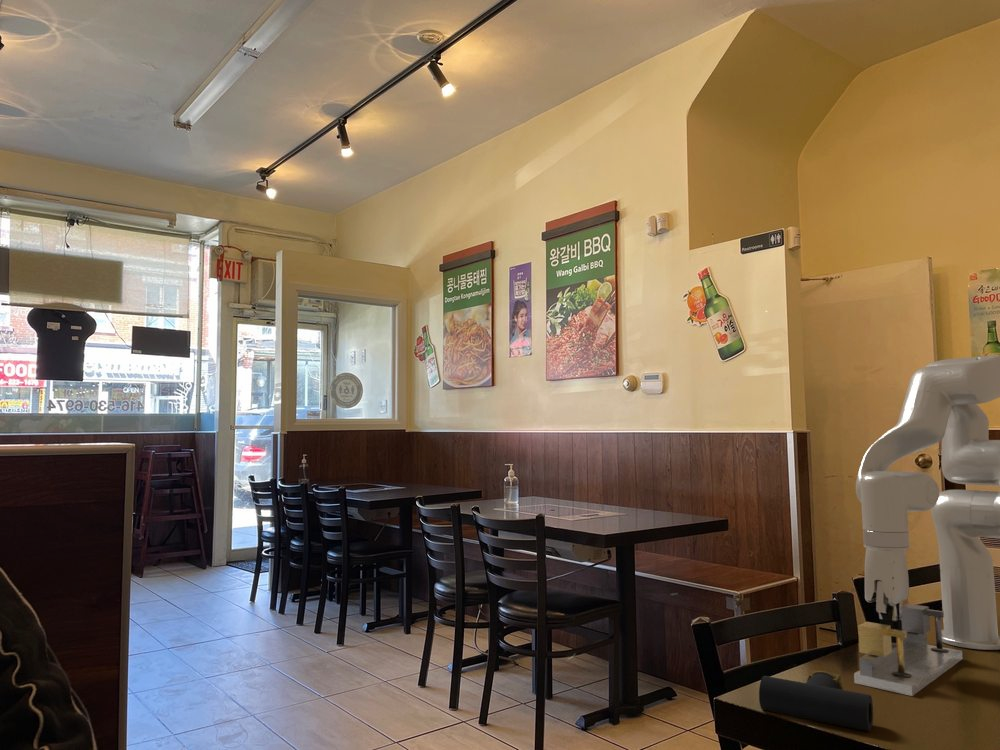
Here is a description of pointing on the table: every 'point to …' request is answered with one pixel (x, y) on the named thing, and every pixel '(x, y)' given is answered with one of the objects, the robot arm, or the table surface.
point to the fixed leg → (921, 621)
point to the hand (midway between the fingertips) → (891, 641)
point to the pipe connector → (818, 700)
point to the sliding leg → (881, 641)
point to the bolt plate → (907, 666)
